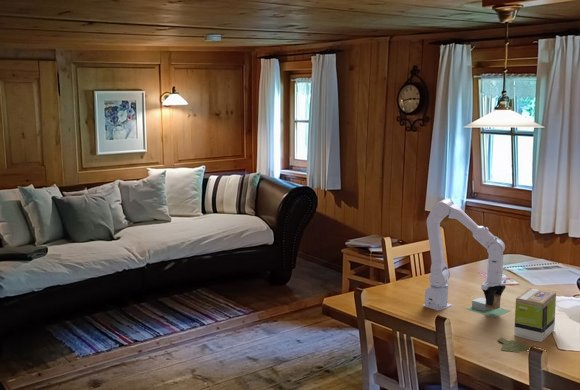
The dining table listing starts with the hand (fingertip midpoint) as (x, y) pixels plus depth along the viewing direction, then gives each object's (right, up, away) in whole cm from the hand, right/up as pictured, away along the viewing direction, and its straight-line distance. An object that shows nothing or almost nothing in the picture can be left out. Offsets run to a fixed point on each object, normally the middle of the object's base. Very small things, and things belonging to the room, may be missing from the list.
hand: (492, 303), depth 252 cm
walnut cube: (0, -2, 0) cm, 2 cm away
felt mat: (0, -4, +5) cm, 6 cm away
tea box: (+9, -8, -19) cm, 22 cm away
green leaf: (-2, -10, -33) cm, 35 cm away
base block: (-2, -3, +7) cm, 8 cm away
